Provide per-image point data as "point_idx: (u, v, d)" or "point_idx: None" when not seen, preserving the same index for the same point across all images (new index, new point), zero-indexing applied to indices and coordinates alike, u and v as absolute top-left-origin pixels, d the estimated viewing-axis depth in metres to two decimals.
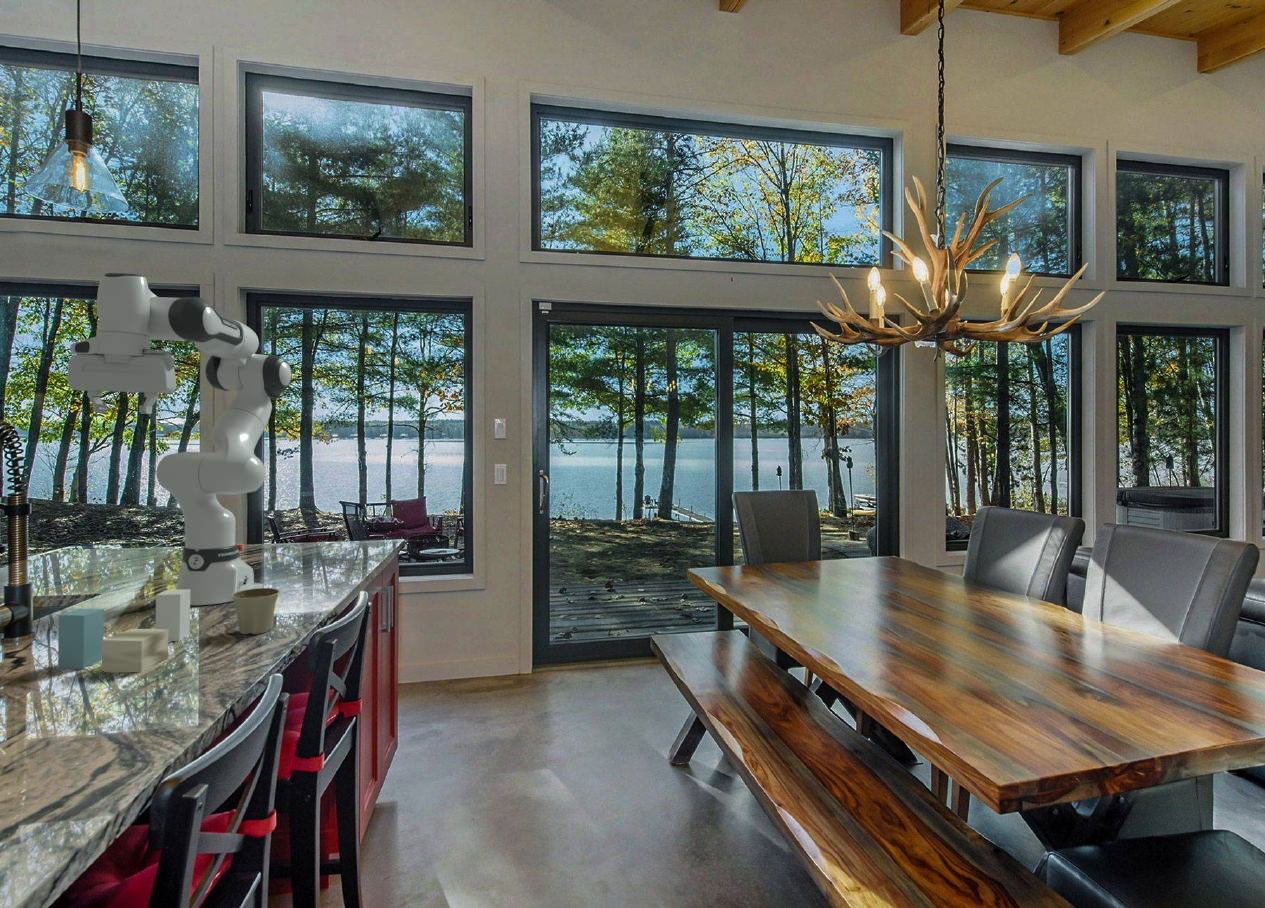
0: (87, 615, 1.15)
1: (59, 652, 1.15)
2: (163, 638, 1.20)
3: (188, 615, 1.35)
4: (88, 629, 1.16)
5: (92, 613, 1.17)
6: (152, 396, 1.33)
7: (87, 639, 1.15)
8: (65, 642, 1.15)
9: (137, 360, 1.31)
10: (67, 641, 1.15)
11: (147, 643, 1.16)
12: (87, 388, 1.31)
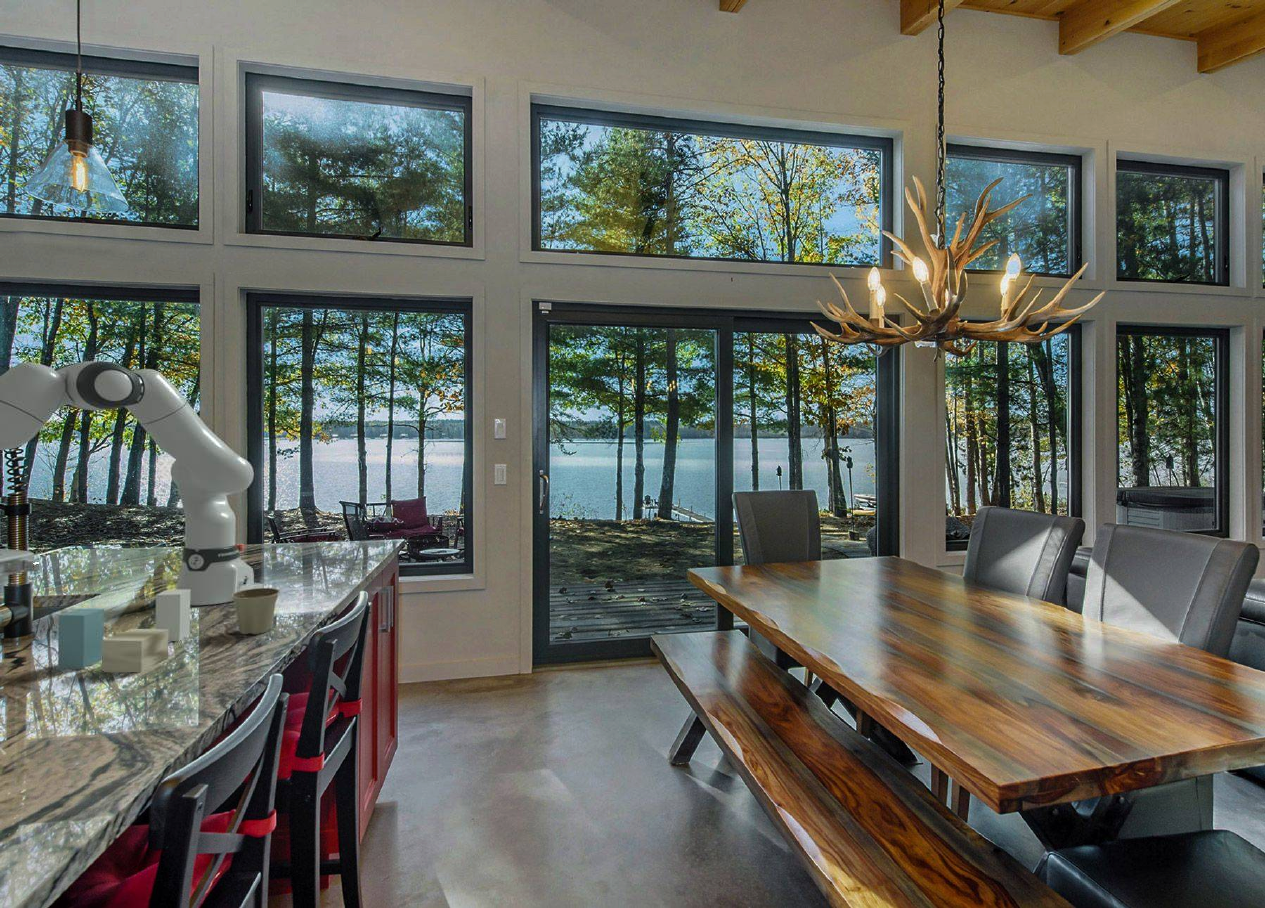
0: (87, 615, 1.15)
1: (59, 652, 1.15)
2: (163, 638, 1.20)
3: (188, 615, 1.35)
4: (88, 629, 1.16)
5: (92, 613, 1.17)
6: None
7: (87, 638, 1.15)
8: (65, 642, 1.15)
9: None
10: (67, 641, 1.15)
11: (147, 643, 1.16)
12: None
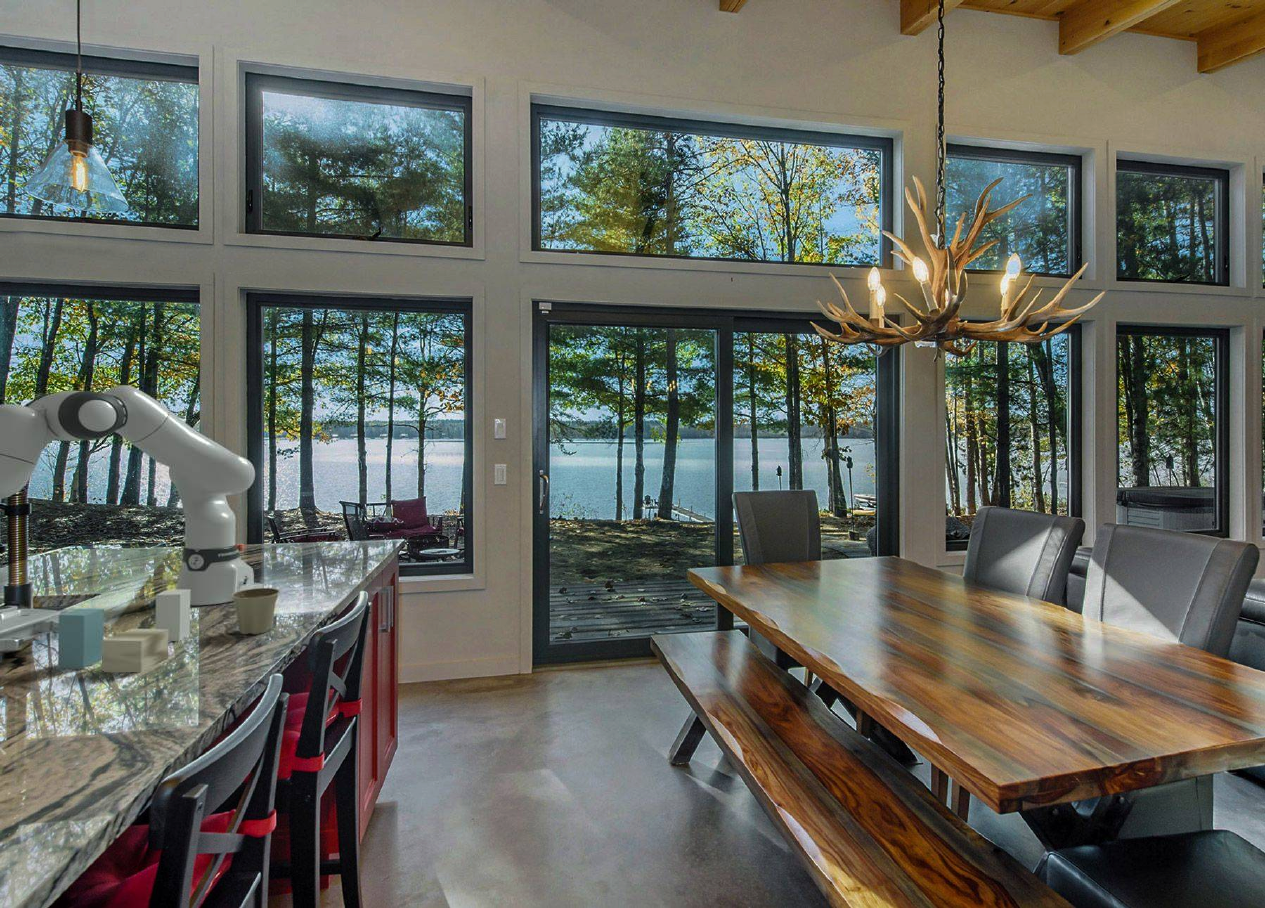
0: (87, 615, 1.15)
1: (59, 652, 1.15)
2: (163, 638, 1.20)
3: (188, 615, 1.35)
4: (88, 629, 1.16)
5: (92, 613, 1.17)
6: None
7: (87, 638, 1.15)
8: (65, 642, 1.15)
9: None
10: (67, 641, 1.15)
11: (147, 643, 1.16)
12: (45, 633, 1.23)
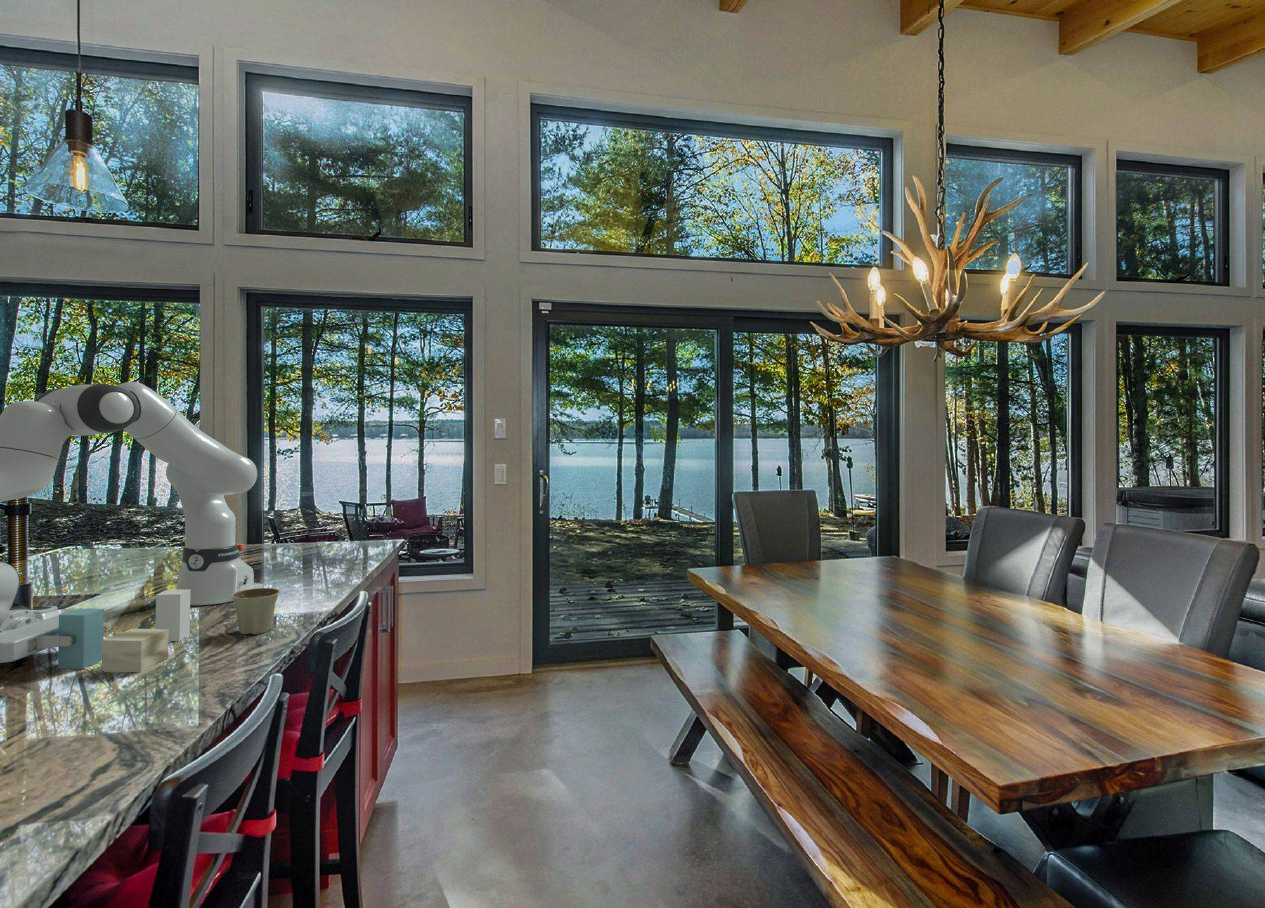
0: (87, 615, 1.15)
1: (59, 652, 1.15)
2: (163, 639, 1.20)
3: (188, 615, 1.35)
4: (88, 629, 1.16)
5: (92, 613, 1.17)
6: (43, 647, 1.12)
7: (87, 638, 1.15)
8: None
9: None
10: None
11: (147, 643, 1.16)
12: None
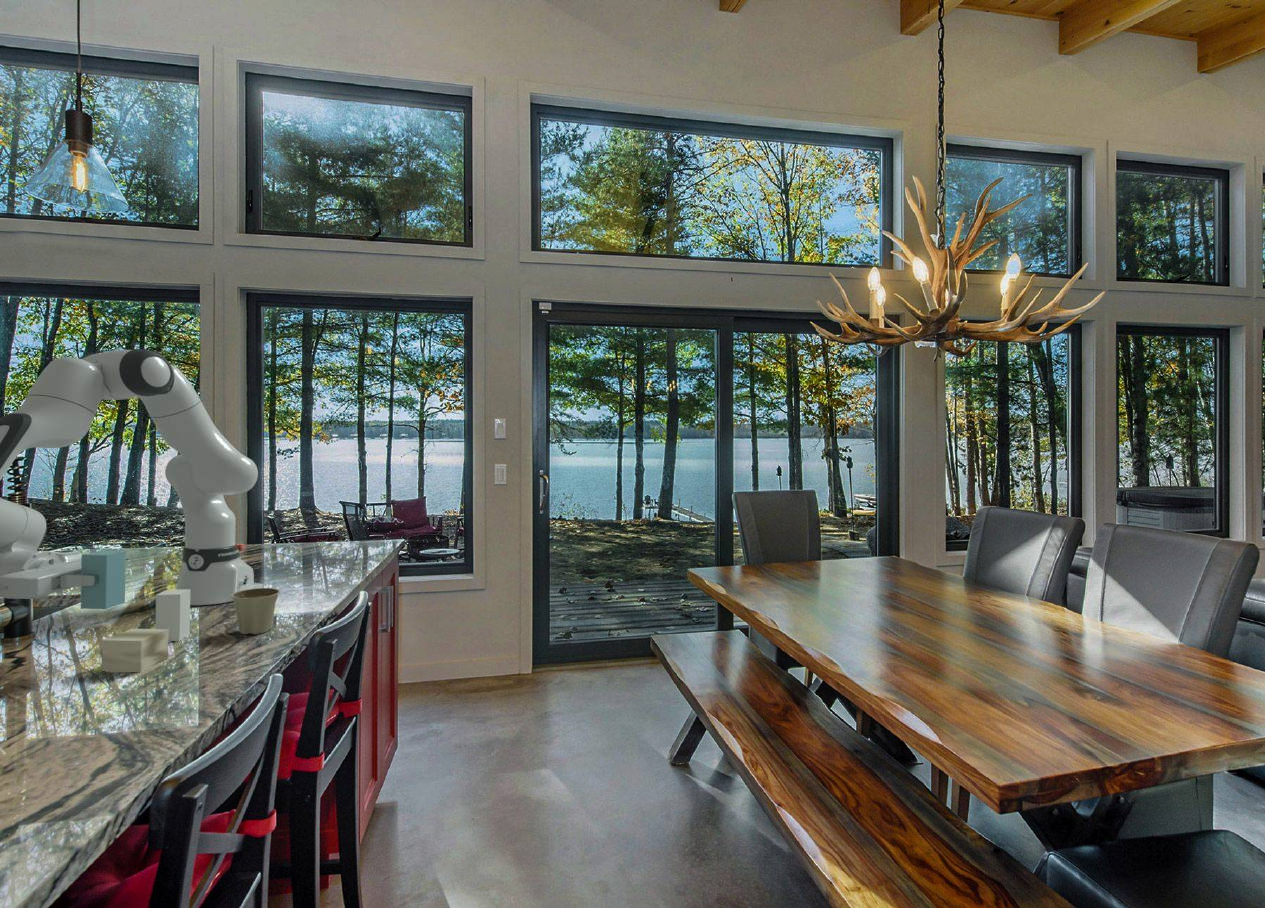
0: (109, 555, 1.15)
1: (82, 592, 1.15)
2: (163, 639, 1.20)
3: (188, 615, 1.35)
4: (110, 570, 1.16)
5: (114, 554, 1.16)
6: (66, 585, 1.12)
7: (109, 579, 1.15)
8: None
9: None
10: None
11: (147, 643, 1.15)
12: None
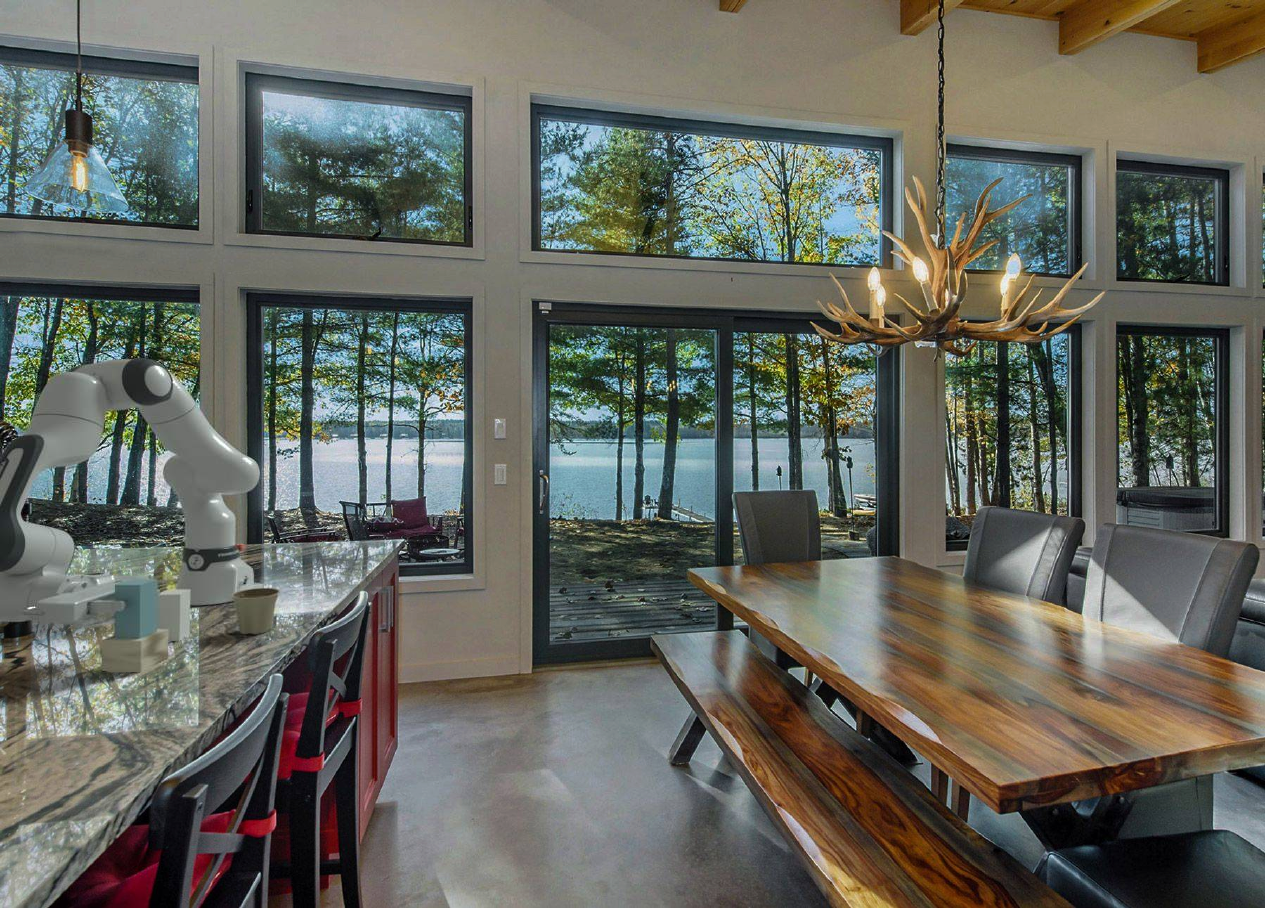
0: (143, 585, 1.16)
1: (115, 621, 1.15)
2: (163, 639, 1.20)
3: (188, 615, 1.35)
4: (144, 599, 1.16)
5: (147, 583, 1.17)
6: (96, 611, 1.11)
7: (143, 608, 1.16)
8: (121, 611, 1.15)
9: None
10: (124, 610, 1.15)
11: (147, 643, 1.15)
12: None
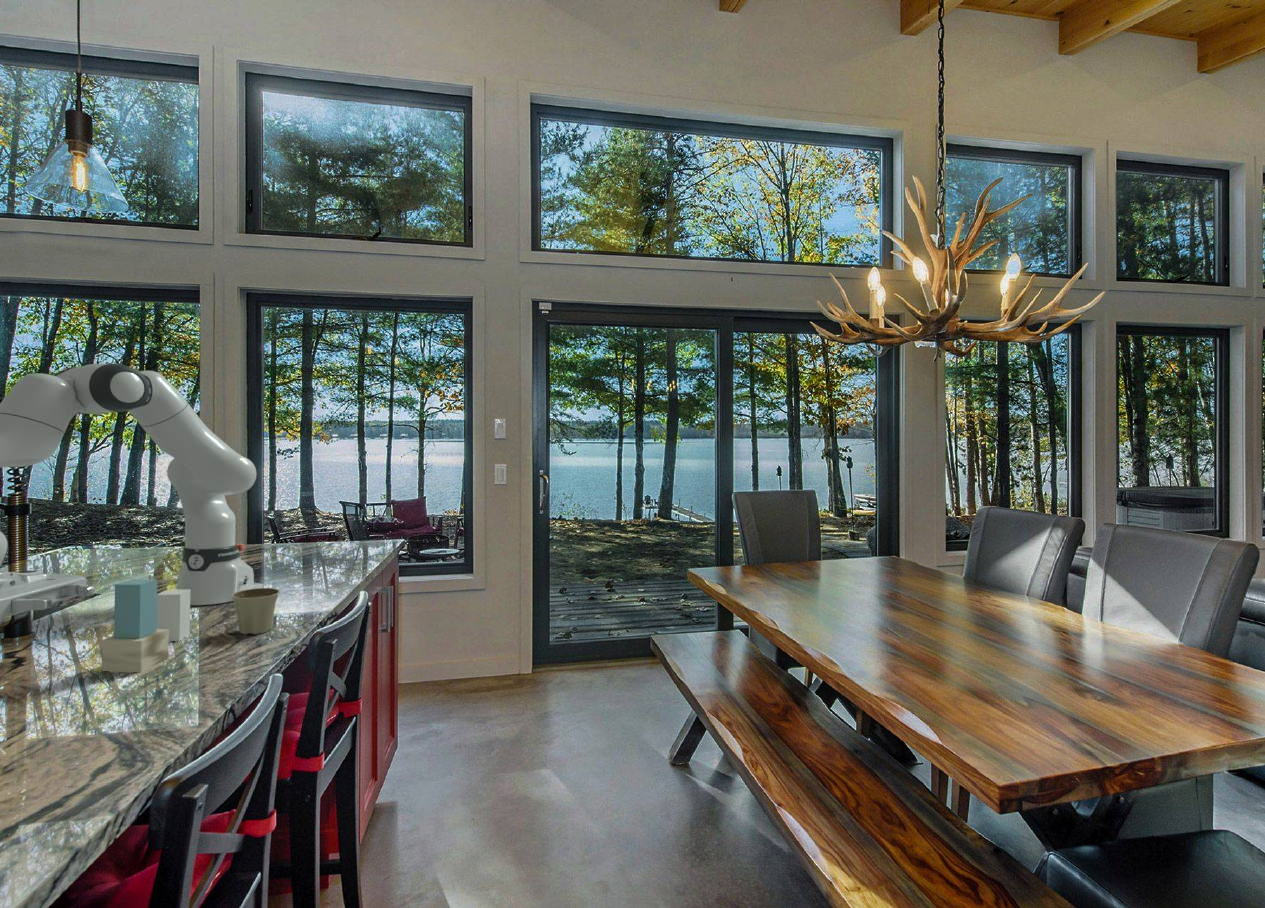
0: (143, 584, 1.16)
1: (115, 621, 1.15)
2: (163, 639, 1.20)
3: (188, 615, 1.35)
4: (144, 599, 1.16)
5: (147, 583, 1.17)
6: (17, 610, 1.10)
7: (142, 608, 1.16)
8: (121, 611, 1.15)
9: None
10: (124, 610, 1.15)
11: (147, 643, 1.16)
12: (71, 597, 1.23)
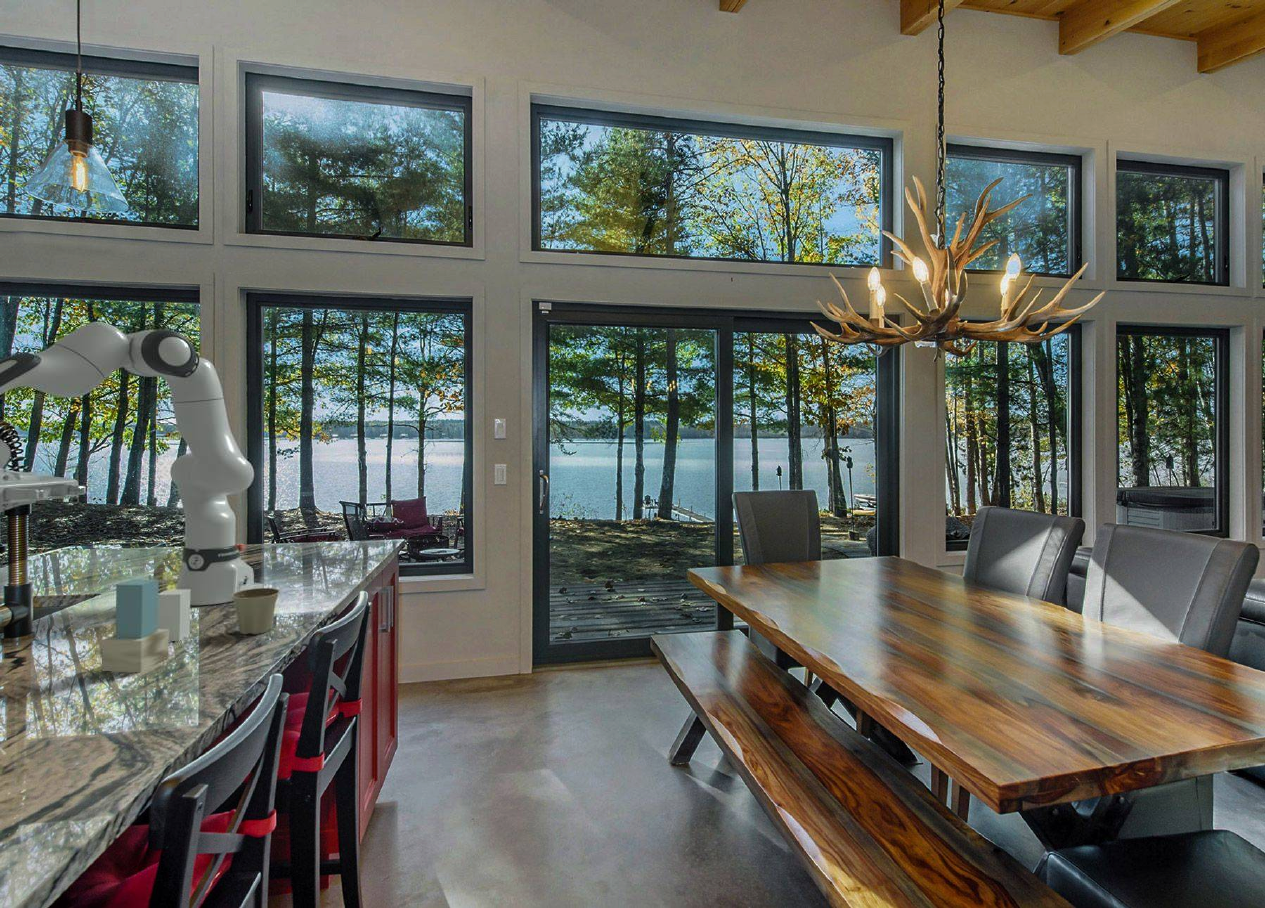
0: (145, 585, 1.16)
1: (117, 621, 1.15)
2: (163, 638, 1.20)
3: (188, 615, 1.35)
4: (145, 599, 1.16)
5: (149, 583, 1.17)
6: (10, 498, 1.13)
7: (144, 608, 1.16)
8: (123, 611, 1.15)
9: None
10: (125, 610, 1.15)
11: (147, 643, 1.16)
12: (63, 497, 1.26)
